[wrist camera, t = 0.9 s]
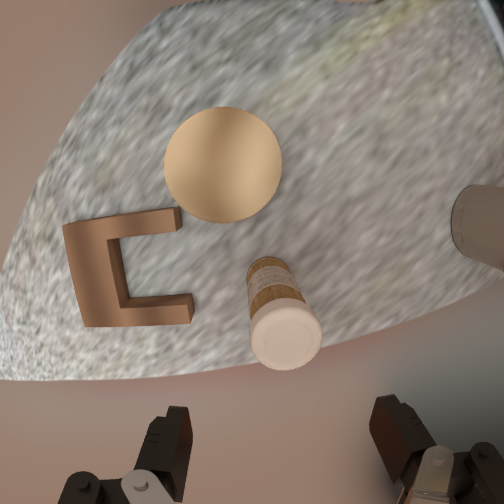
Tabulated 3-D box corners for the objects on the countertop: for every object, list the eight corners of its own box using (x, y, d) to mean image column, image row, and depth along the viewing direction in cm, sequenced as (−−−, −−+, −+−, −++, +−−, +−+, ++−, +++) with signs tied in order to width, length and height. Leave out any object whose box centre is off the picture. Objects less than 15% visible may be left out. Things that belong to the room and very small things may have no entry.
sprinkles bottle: (282, 302, 32) (307, 378, 19) (240, 291, 31) (241, 364, 18) (296, 262, 31) (335, 318, 18) (253, 249, 30) (264, 300, 17)
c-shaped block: (179, 206, 29) (173, 209, 26) (194, 311, 32) (190, 323, 29) (76, 221, 29) (62, 225, 26) (95, 316, 31) (84, 327, 28)
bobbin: (265, 126, 28) (276, 102, 19) (272, 207, 29) (286, 217, 21) (183, 134, 28) (159, 115, 19) (190, 215, 29) (170, 229, 21)
